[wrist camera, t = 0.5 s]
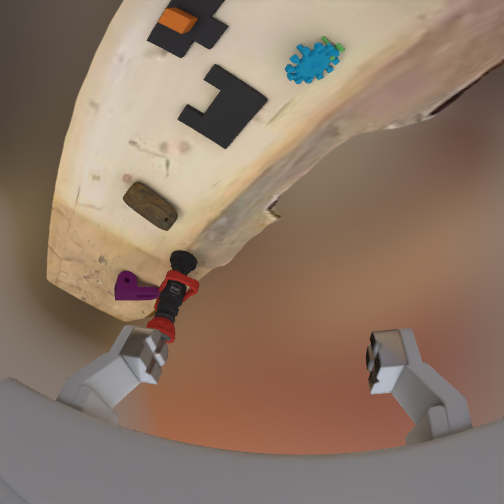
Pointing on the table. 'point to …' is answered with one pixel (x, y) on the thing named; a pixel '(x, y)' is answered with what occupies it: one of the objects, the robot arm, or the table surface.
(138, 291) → the mounting bracket
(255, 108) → the socket pad
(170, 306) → the fire hose nozzle
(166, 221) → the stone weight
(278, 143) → the table surface
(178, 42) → the pad
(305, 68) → the gear
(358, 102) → the table surface
